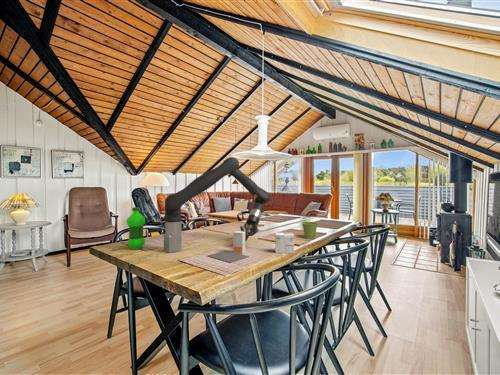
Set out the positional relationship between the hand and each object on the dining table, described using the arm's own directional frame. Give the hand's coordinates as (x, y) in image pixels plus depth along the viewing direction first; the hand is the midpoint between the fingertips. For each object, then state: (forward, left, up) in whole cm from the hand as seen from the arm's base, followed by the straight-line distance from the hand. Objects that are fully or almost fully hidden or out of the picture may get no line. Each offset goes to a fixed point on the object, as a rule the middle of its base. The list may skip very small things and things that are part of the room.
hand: (243, 240), depth 149 cm
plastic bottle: (-39, +54, -6) cm, 67 cm away
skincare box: (-5, -1, -6) cm, 8 cm away
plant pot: (+57, -13, -6) cm, 59 cm away
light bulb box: (+13, -20, -6) cm, 25 cm away
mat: (-15, -2, -6) cm, 16 cm away
